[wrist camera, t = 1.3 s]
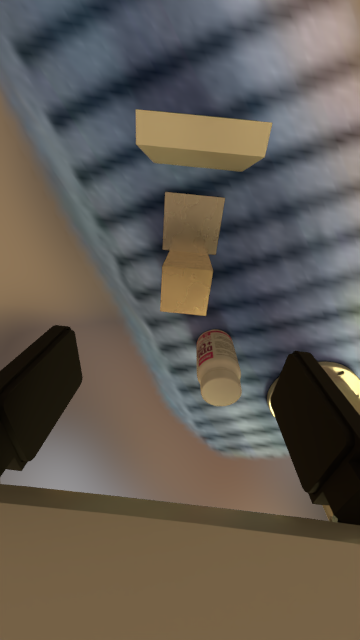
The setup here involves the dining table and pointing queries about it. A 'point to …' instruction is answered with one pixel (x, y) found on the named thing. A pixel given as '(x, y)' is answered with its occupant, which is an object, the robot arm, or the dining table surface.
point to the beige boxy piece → (189, 251)
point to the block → (201, 140)
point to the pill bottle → (218, 368)
